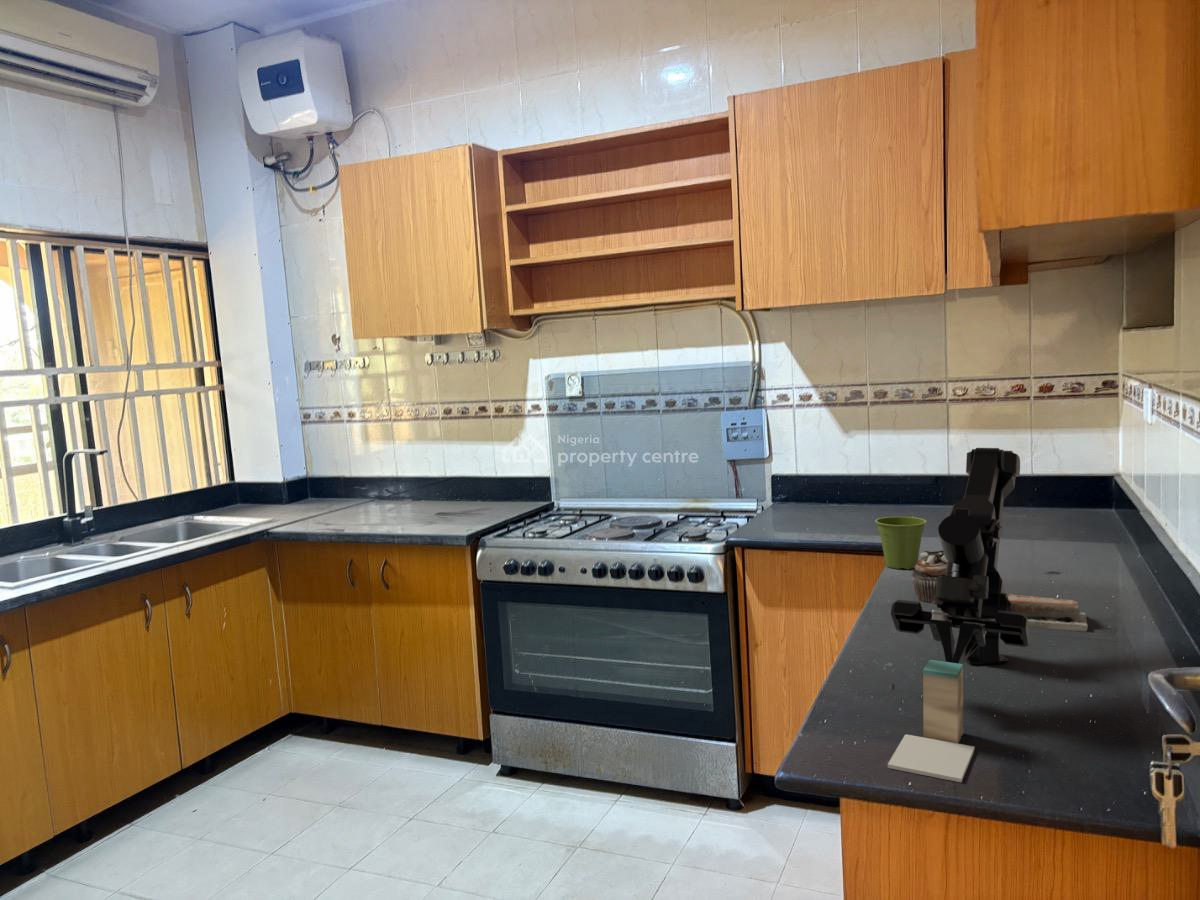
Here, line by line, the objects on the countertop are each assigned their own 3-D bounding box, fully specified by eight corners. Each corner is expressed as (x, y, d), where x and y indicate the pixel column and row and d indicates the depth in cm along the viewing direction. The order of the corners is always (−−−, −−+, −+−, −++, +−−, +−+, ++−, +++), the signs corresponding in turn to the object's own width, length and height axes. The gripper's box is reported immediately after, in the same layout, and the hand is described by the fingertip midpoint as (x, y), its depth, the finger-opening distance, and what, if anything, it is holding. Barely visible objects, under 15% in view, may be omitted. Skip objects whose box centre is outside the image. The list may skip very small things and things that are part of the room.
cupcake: (903, 594, 194) (903, 548, 193) (946, 591, 195) (946, 545, 193) (923, 606, 184) (923, 558, 183) (969, 603, 185) (968, 555, 184)
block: (930, 727, 128) (929, 659, 127) (963, 733, 125) (962, 664, 124) (923, 739, 124) (923, 669, 123) (957, 745, 122) (957, 674, 120)
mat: (905, 737, 125) (905, 734, 125) (974, 750, 120) (974, 746, 120) (887, 767, 116) (887, 764, 116) (961, 782, 112) (961, 778, 112)
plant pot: (933, 563, 218) (932, 517, 217) (918, 574, 209) (918, 527, 208) (884, 558, 225) (884, 514, 224) (868, 568, 216) (867, 523, 215)
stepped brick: (981, 600, 172) (984, 587, 181) (981, 625, 172) (984, 610, 181) (1088, 608, 164) (1086, 594, 173) (1088, 634, 164) (1085, 619, 173)
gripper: (892, 548, 137) (875, 639, 129) (1027, 558, 127) (1017, 658, 119) (905, 585, 144) (889, 674, 136) (1033, 598, 135) (1024, 694, 126)
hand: (951, 674), depth 129 cm, fingers closed
